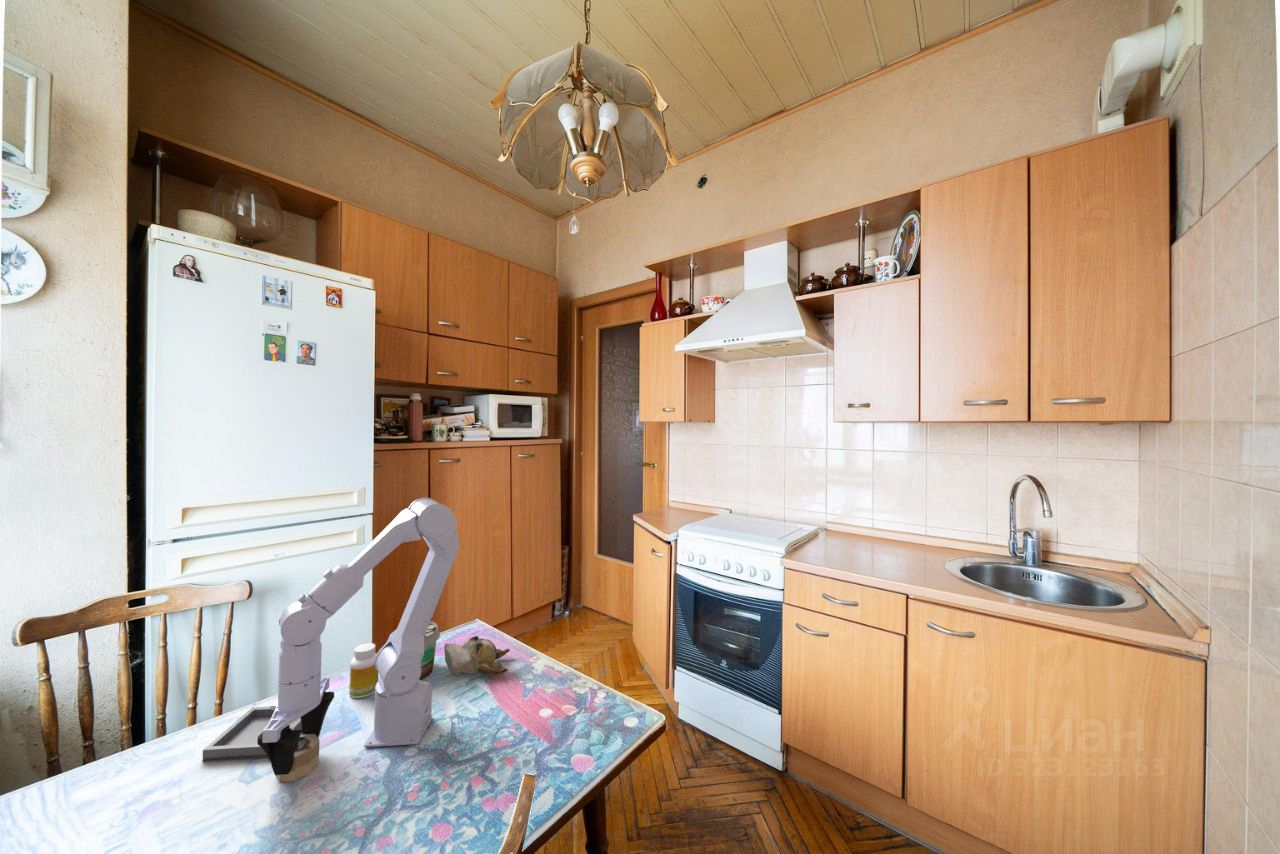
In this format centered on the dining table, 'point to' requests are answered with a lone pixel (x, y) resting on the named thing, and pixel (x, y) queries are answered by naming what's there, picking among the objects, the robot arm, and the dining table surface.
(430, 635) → the food container
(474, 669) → the ceramic sculpture
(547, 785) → the dining table surface
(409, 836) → the dining table surface
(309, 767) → the ring
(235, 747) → the tray
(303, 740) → the stake
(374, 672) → the supplement bottle
